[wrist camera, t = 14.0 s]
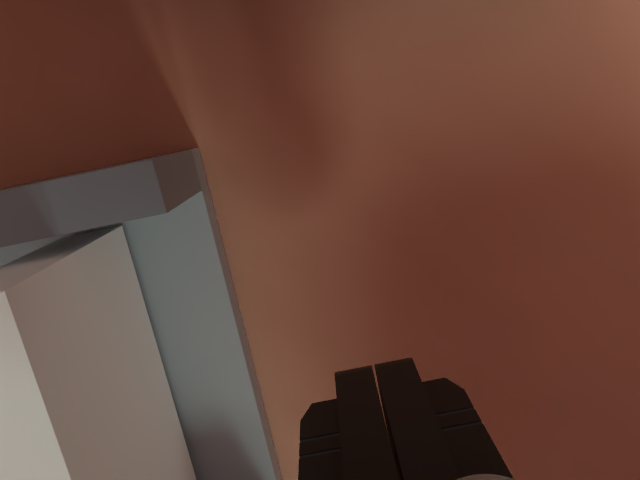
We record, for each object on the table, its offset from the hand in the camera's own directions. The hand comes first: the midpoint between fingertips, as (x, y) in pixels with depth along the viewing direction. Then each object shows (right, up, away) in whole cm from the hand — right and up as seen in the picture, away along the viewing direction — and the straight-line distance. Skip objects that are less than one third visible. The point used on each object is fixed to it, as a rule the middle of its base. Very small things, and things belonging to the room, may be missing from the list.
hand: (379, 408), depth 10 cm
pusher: (-6, -1, +3) cm, 7 cm away
